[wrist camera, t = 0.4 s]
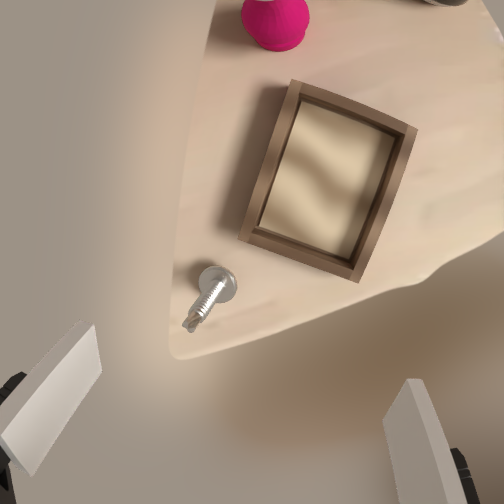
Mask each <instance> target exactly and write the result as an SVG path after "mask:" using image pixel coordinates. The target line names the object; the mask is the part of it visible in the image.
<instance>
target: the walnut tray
mask: <svg viewBox="0 0 504 504" xmlns="http://www.w3.org/2000/svg"><path fill="white" fill-rule="evenodd" d="M417 131H418V129H416V128H414V127H412V126H410V125H408V124H406V123H404V122H402V121H400V120H398V119H395V118H393V117H391V116H389V115H387V114H384V113H382V112H380V111H378V110H375V109H373V108H371V107H368V106H366V105H363V104H361V103H358V102H356V101H353V100H351V99H348V98H346V97H343V96H340V95H338V94H335V93H332V92H330V91H327V90H324V89H321V88H318V87H315V86H312V85H309V84H306V83H303V82H300V81H297V80H293V79H291V82H290V85H289V88H288V90H287V93H286V96H285V99H284V102H283V105H282V108H281V111H280V113H279V116H278V119H277V122H276V125H275V128H274V131H273V134H272V137H271V140H270V143H269V146H268V149H267V152H266V154H265V157H264V160H263V163H262V166H261V169H260V172H259V175H258V178H257V181H256V184H255V187H254V190H253V193H252V196H251V199H250V202H249V205H248V208H247V211H246V215H245V218H244V221H243V224H242V227H241V230H240V233H239V236H238V239H239V240H241V241H244V242H247V243H250V244H252V245H255V246H258V247H261V248H263V249H266V250H269V251H272V252H274V253H277V254H280V255H282V256H285V257H288V258H291V259H293V260H296V261H299V262H302V263H304V264H307V265H310V266H312V267H315V268H318V269H321V270H323V271H326V272H329V273H331V274H334V275H337V276H340V277H342V278H345V279H348V280H350V281H353V282H356V283H359V281H360V279H361V277H362V275H363V273H364V270H365V268H366V266H367V264H368V262H369V259H370V257H371V255H372V252H373V250H374V248H375V245H376V243H377V241H378V238H379V236H380V234H381V231H382V229H383V226H384V224H385V221H386V219H387V216H388V214H389V211H390V209H391V206H392V204H393V201H394V198H395V196H396V193H397V190H398V188H399V185H400V182H401V179H402V176H403V174H404V171H405V168H406V165H407V162H408V159H409V156H410V153H411V150H412V147H413V144H414V141H415V138H416V135H417Z"/></svg>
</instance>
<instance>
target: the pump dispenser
mask: <svg viewBox="0 0 504 504" xmlns="http://www.w3.org/2000/svg"><path fill="white" fill-rule="evenodd" d="M424 1H426V2H428V3H431V4H433V5H437V6H443V7H450V6H459V5H463V4H465V3H466V2H467V1H468V0H424Z"/></svg>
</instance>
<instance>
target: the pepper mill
mask: <svg viewBox="0 0 504 504" xmlns="http://www.w3.org/2000/svg"><path fill="white" fill-rule="evenodd" d="M241 16H242V21H243V25H244V27H245V29H246V30H247V32H248V33H249V34H250V35H251V36H252V37H253V38H255V40H256V41H257V43H258V44H259V45H261V46H262V47H263V48H265V49H268V50H271V51H279V52H280V51H287V50H290V49H292V48H294V47H296V46H297V45H298V44H300V42H301V41H302V40H303V38H304V35H305V30H306V28H307V26H308V24H309V19H310V18H309V10H308V6H307V4H306V2H305V1H304V0H245V1H244V4H243V7H242V12H241Z"/></svg>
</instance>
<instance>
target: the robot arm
mask: <svg viewBox="0 0 504 504" xmlns="http://www.w3.org/2000/svg"><path fill="white" fill-rule="evenodd" d="M101 372H102V368H101V363H100V358H99V352H98V347H97V340H96V334H95V328H94V324H92V323H89V322H86V321H83V320H79V321H78V322H77V323H76V324H75V325H74V326H73V327H72V328H71V329H70V330H69V331H68V332H67V333H66V334H65V335H64V336H63V337H62V338H61V339H60V340H59V341H58V342H57V343H56V345H54V347H53V348H52V349H51V350H50V351H49V352H48V353H47V354H46V355H45V356H44V357H43V358H42V359H41V360H40V361H39V362H38V364H37V365H36V366H35V367H34V368H33V369H32V370H31V371H30V372H29V374H28V375H27V374H25V373H23V372H20V373H18V374H16V375H14V376H12V377H11V378H10V379H9V380H8V381H7V382H6V383H5V384H4V385H3V388H1V389H0V504H16V500H15V495H14V490H13V485H12V479H11V473H10V469H9V466H8V463H9V462H10V460H11V461H12V462H13V463H14V465H15V466H16V467H17V468H18V469H19V470H21V471H23V472H24V473H26V474H27V475H29V476H31V477H33V475H34V473H35V472H36V470H37V469H38V467H39V465H40V464H41V462H42V460H43V459H44V457H45V456H46V454H47V453H48V451H49V450H50V448H51V446H52V445H53V443H54V442H55V440H56V439H57V437H58V436H59V434H60V433H61V431H62V429H63V428H64V427H65V425H66V423H67V422H68V420H69V419H70V417H71V416H72V415H73V413H74V412H75V410H76V408H77V407H78V406H79V404H80V403H81V401H82V400H83V398H84V397H85V395H86V394H87V392H88V391H89V390H90V388H91V387H92V385H93V384H94V382H95V381H96V380H97V378H98V377H99V375H100V374H101ZM382 422H383V426H384V430H385V435H386V439H387V444H388V448H389V453H390V457H391V462H392V467H393V471H394V476H395V482H396V487H397V492H398V498H399V504H480V502H479V498H478V496H477V492H476V489H475V486H474V483H473V480H472V478H471V475H470V471H469V470H468V466H467V463H466V460H465V458H464V456H463V455H462V454H461V452H460V451H459V450H458V449H457V448H453V449H449V446H448V443H447V441H446V438H445V435H444V432H443V430H442V427H441V425H440V422H439V419H438V417H437V415H436V412H435V410H434V407H433V405H432V402H431V400H430V397H429V395H428V393H427V390H426V388H425V386H424V383H423V381H422V379H406V381H405V383H404V385H403V386H402V388H401V390H400V392H399V394H398V395H397V397H396V399H395V400H394V402H393V404H392V405H391V407H390V409H389V410H388V412H387V414H386V416H385V417H384V418H383V420H382Z"/></svg>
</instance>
